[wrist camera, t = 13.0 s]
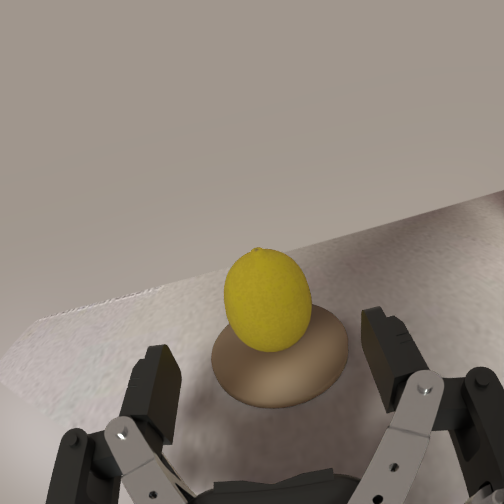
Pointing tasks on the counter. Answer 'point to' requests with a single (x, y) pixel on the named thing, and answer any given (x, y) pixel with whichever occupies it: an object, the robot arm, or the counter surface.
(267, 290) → the lemon
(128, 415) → the robot arm
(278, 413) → the counter surface
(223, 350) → the walnut board
